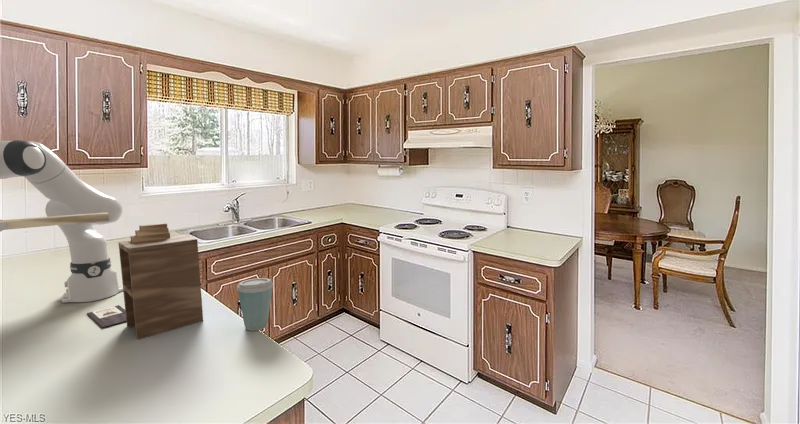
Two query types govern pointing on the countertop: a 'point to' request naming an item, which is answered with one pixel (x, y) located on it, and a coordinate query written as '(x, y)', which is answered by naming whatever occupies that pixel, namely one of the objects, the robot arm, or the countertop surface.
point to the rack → (160, 280)
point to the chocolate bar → (109, 316)
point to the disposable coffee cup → (255, 302)
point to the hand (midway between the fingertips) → (5, 223)
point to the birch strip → (55, 220)
